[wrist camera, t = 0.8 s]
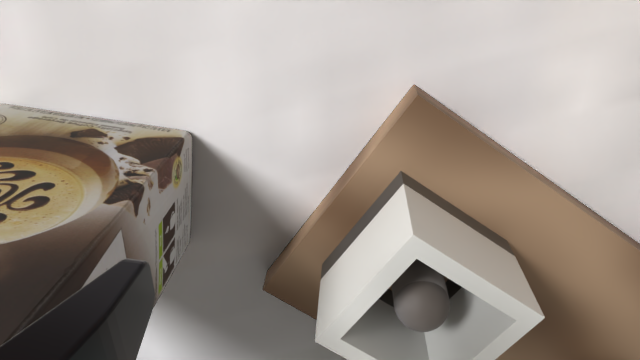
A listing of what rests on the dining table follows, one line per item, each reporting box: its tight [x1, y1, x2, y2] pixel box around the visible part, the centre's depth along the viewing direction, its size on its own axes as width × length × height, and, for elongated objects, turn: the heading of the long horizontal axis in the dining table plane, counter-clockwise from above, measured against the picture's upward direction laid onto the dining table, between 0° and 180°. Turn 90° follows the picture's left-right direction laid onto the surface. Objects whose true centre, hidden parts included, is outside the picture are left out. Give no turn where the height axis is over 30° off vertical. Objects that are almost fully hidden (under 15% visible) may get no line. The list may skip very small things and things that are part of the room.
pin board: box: [263, 85, 640, 360], centre depth 23 cm, size 12×22×6 cm, turn 56°
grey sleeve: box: [315, 171, 545, 360], centre depth 21 cm, size 6×6×5 cm
